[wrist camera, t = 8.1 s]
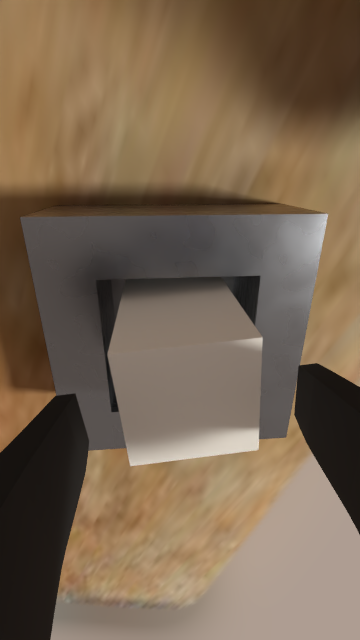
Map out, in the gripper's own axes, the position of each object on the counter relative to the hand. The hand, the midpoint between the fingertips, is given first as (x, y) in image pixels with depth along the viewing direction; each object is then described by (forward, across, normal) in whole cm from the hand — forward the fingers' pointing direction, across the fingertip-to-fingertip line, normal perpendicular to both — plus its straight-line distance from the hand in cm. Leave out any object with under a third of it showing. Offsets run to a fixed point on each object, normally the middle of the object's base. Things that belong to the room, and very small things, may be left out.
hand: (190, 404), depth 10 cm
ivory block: (+8, 0, 0) cm, 8 cm away
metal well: (+8, 0, 0) cm, 8 cm away
